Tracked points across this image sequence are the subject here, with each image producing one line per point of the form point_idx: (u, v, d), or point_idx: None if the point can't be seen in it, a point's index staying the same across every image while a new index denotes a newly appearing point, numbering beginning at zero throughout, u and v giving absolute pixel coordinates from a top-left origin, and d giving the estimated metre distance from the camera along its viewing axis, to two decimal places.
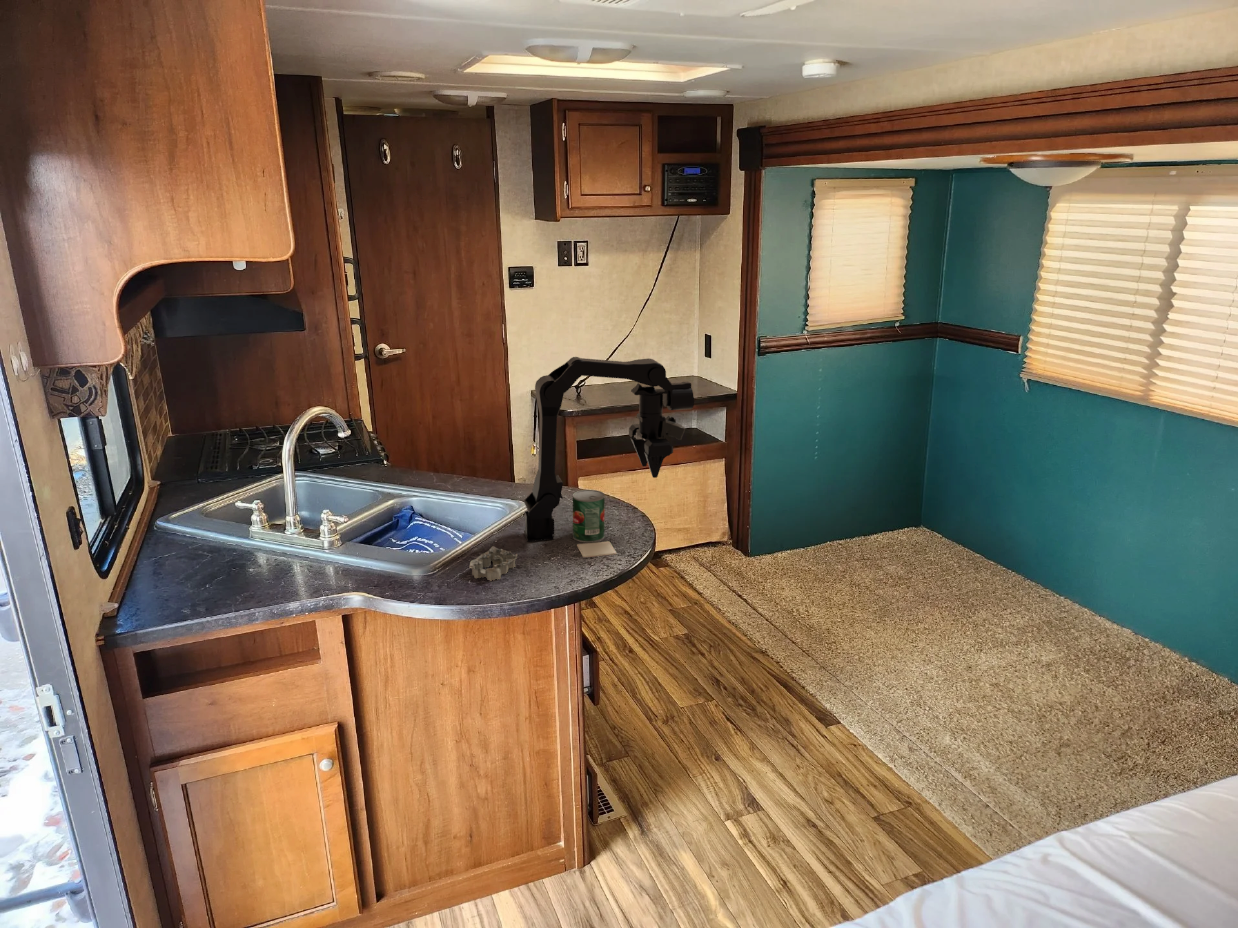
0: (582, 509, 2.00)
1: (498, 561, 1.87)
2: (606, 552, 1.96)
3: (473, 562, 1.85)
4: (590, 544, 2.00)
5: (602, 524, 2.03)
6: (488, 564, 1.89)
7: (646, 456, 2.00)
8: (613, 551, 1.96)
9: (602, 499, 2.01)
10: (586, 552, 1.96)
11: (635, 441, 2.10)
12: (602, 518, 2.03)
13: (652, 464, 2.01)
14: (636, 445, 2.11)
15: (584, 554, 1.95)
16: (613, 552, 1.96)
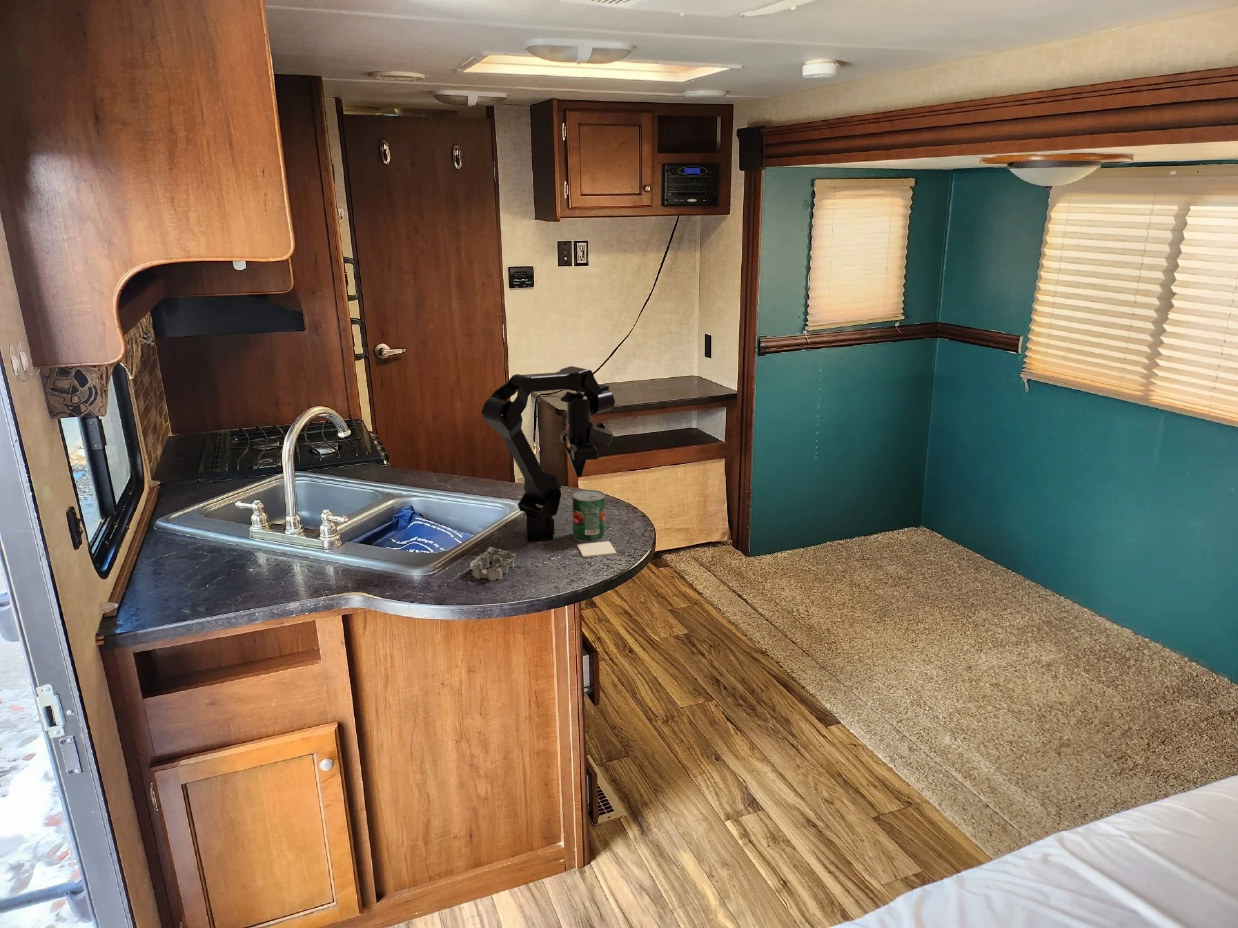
0: (582, 509, 2.00)
1: (498, 561, 1.87)
2: (606, 552, 1.96)
3: (473, 563, 1.84)
4: (590, 544, 2.00)
5: (602, 524, 2.03)
6: (487, 564, 1.89)
7: (569, 456, 2.08)
8: (613, 551, 1.96)
9: (602, 499, 2.01)
10: (586, 552, 1.96)
11: (569, 451, 2.10)
12: (602, 518, 2.03)
13: (575, 464, 2.09)
14: None
15: (584, 554, 1.95)
16: (613, 552, 1.96)
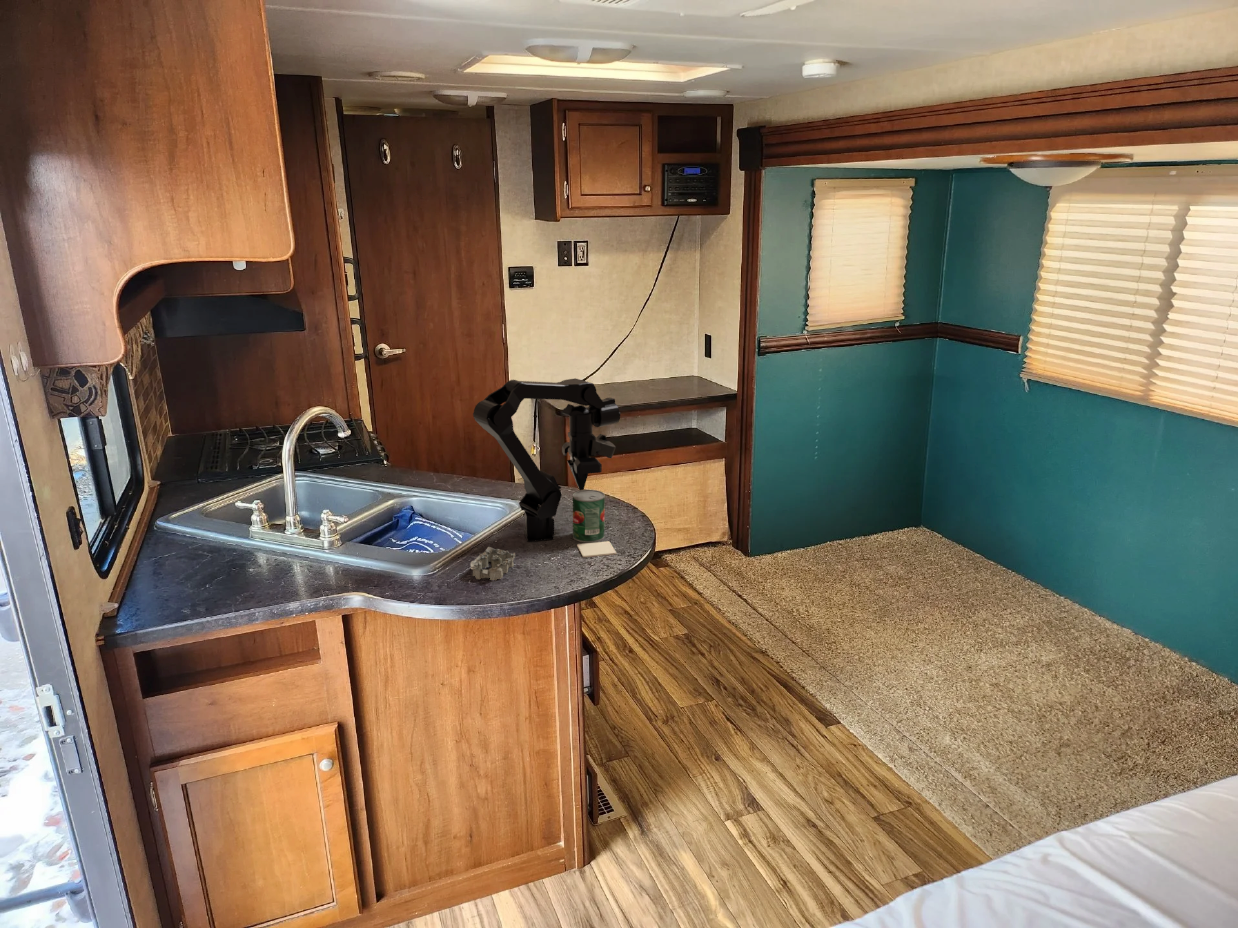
0: (582, 509, 2.00)
1: (497, 560, 1.87)
2: (606, 552, 1.96)
3: (473, 563, 1.84)
4: (590, 544, 2.00)
5: (602, 524, 2.03)
6: (486, 564, 1.89)
7: (572, 469, 2.07)
8: (613, 551, 1.96)
9: (602, 499, 2.01)
10: (586, 552, 1.96)
11: (571, 464, 2.09)
12: (602, 518, 2.03)
13: (578, 477, 2.08)
14: None
15: (584, 554, 1.95)
16: (613, 552, 1.96)
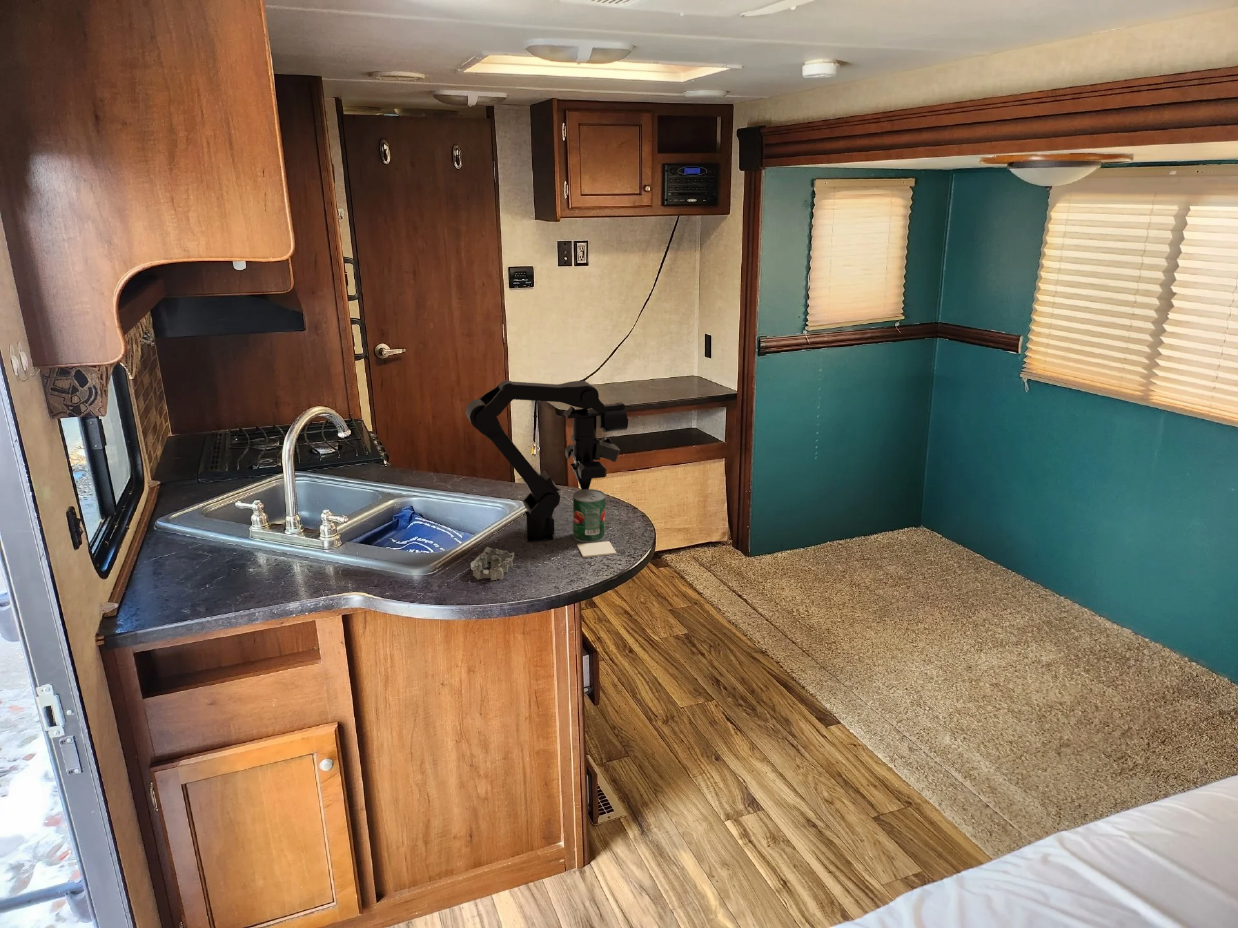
0: (583, 510, 2.00)
1: (497, 560, 1.87)
2: (606, 552, 1.96)
3: (473, 564, 1.84)
4: (590, 544, 2.00)
5: (602, 524, 2.03)
6: (485, 565, 1.89)
7: (575, 473, 2.03)
8: (613, 551, 1.96)
9: (603, 500, 2.01)
10: (586, 552, 1.96)
11: (575, 468, 2.05)
12: (602, 518, 2.02)
13: (582, 481, 2.04)
14: None
15: (584, 554, 1.95)
16: (613, 552, 1.96)
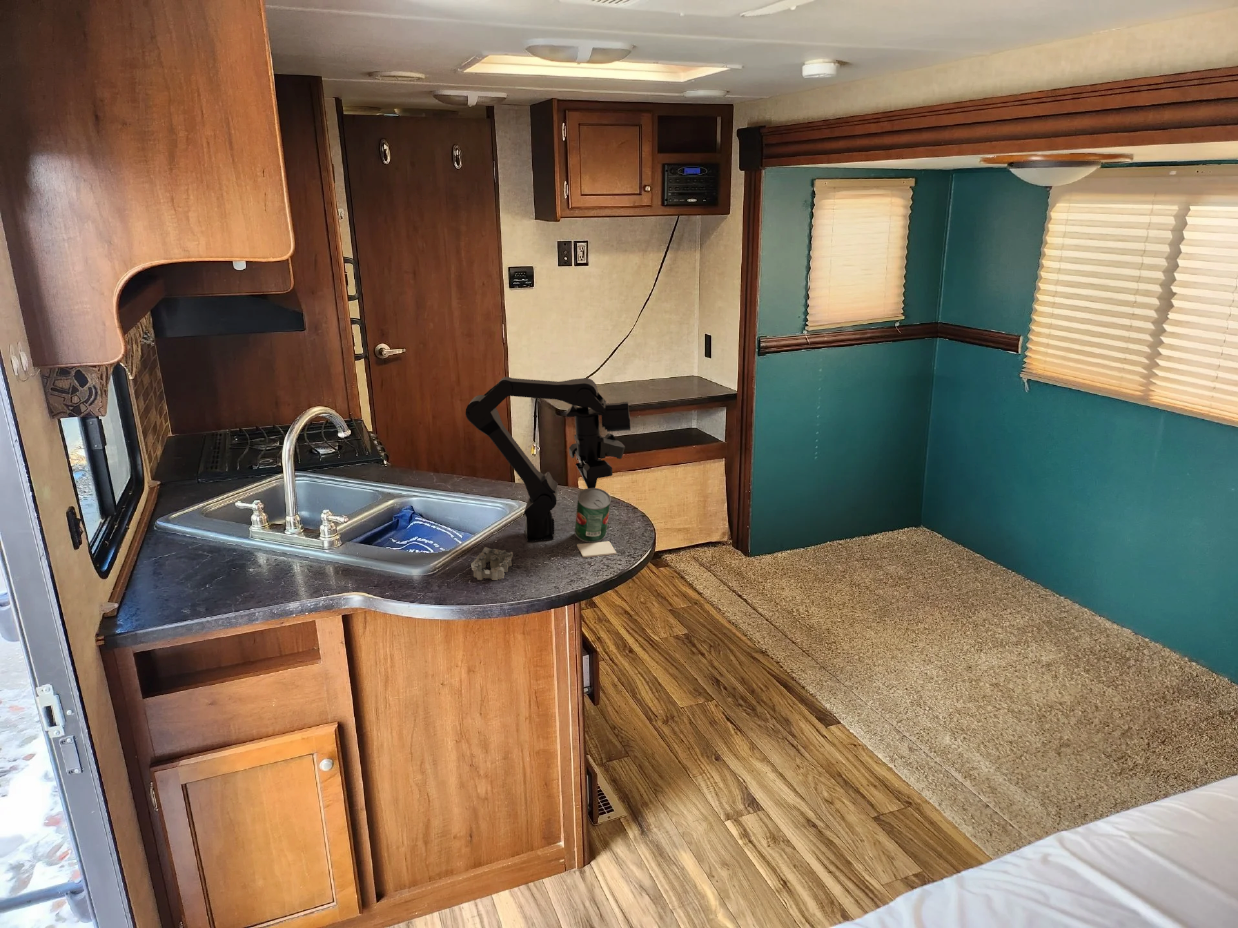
0: (585, 514, 1.98)
1: (496, 560, 1.87)
2: (606, 552, 1.96)
3: (473, 564, 1.84)
4: (590, 544, 2.00)
5: (604, 526, 2.02)
6: (484, 565, 1.88)
7: (581, 473, 1.99)
8: (613, 551, 1.96)
9: (607, 506, 1.98)
10: (586, 552, 1.96)
11: None
12: (605, 522, 2.01)
13: (588, 480, 2.00)
14: None
15: (584, 554, 1.95)
16: (613, 552, 1.96)
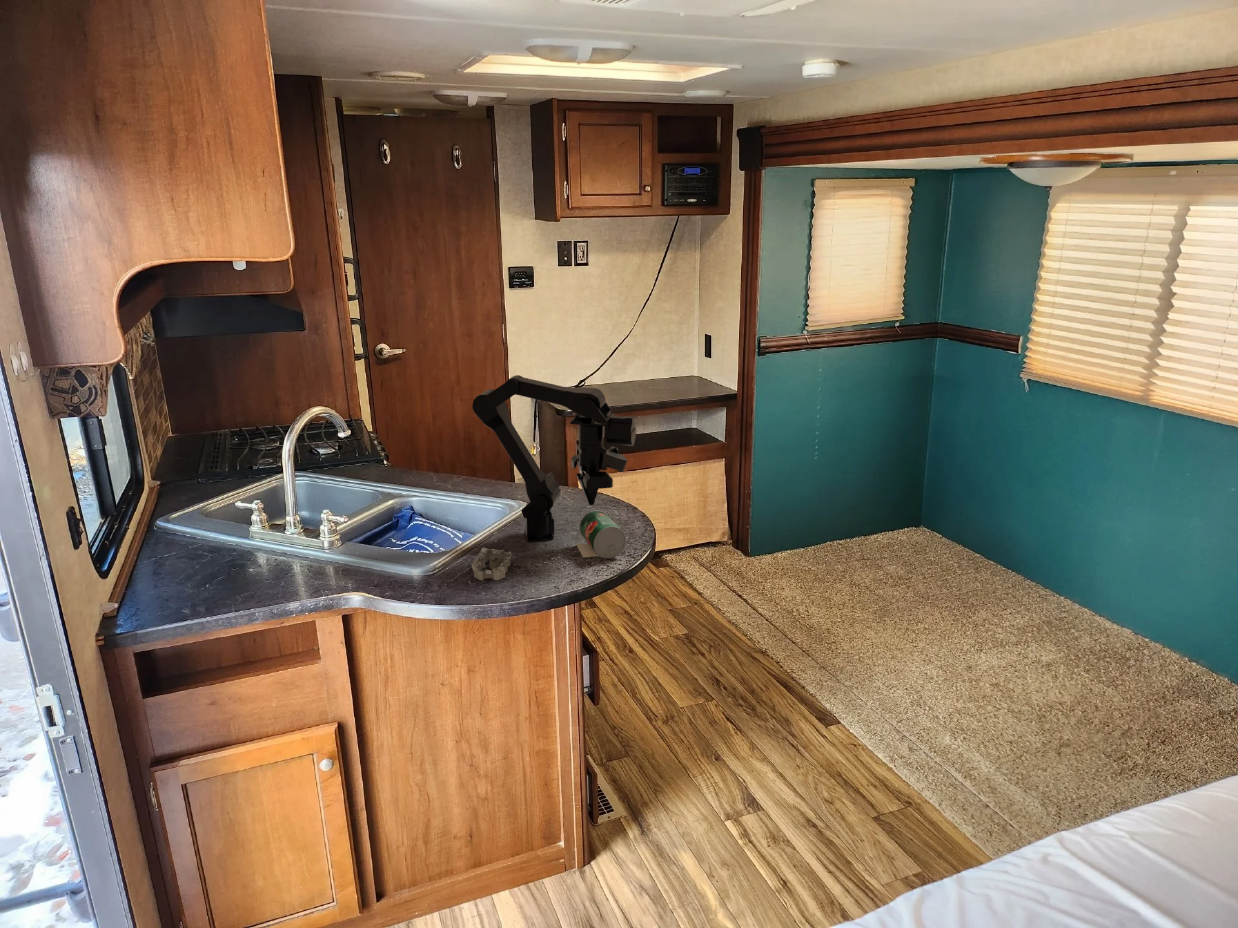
0: (595, 550, 1.94)
1: (496, 560, 1.87)
2: None
3: (474, 565, 1.83)
4: None
5: None
6: (483, 565, 1.88)
7: (581, 484, 1.96)
8: None
9: None
10: (586, 552, 1.96)
11: (581, 478, 1.98)
12: None
13: (588, 492, 1.98)
14: None
15: (584, 554, 1.95)
16: None
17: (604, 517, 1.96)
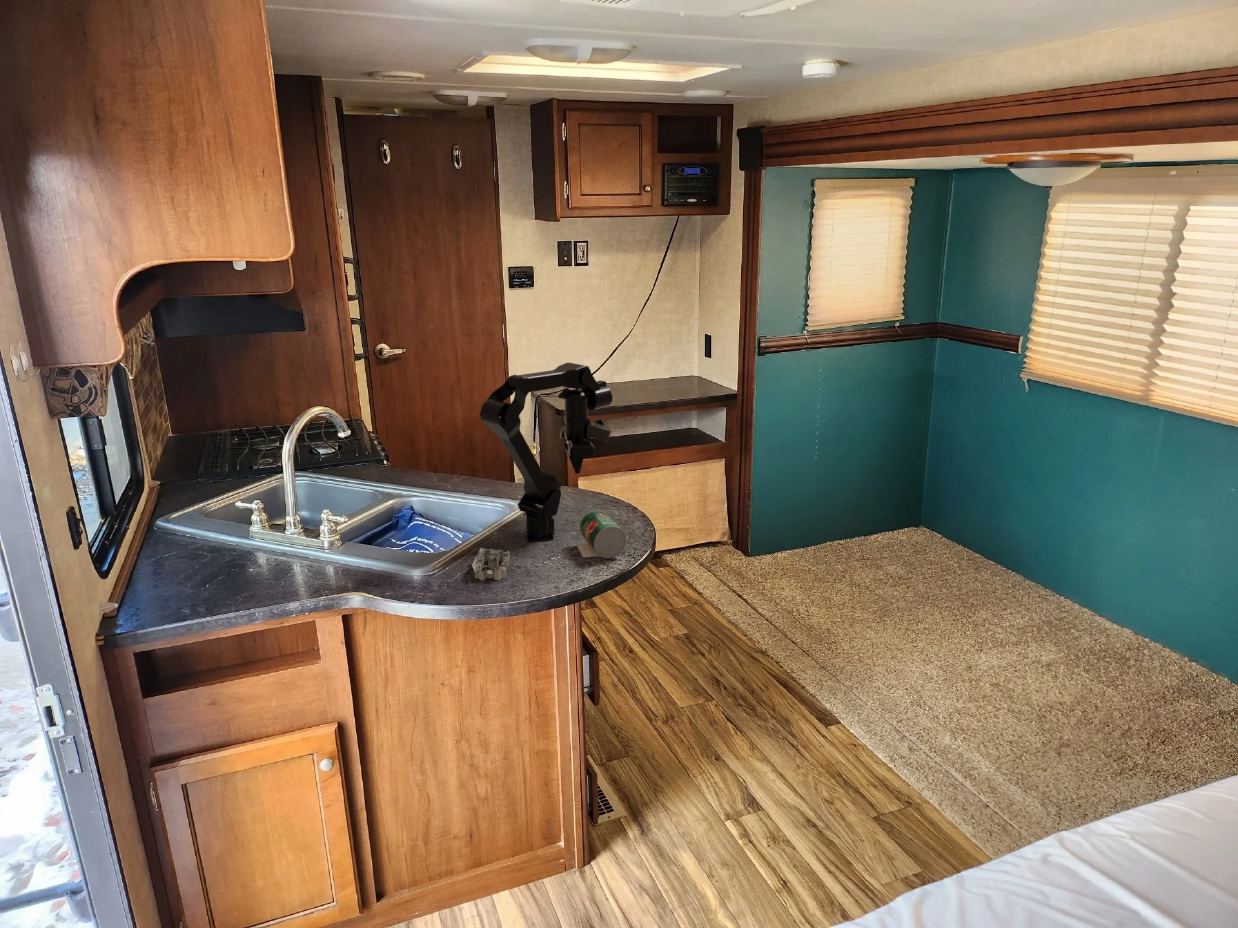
0: None
1: (495, 560, 1.87)
2: None
3: (474, 565, 1.83)
4: None
5: None
6: (483, 566, 1.88)
7: (567, 453, 2.07)
8: None
9: None
10: (586, 552, 1.96)
11: (567, 448, 2.10)
12: None
13: (573, 460, 2.09)
14: None
15: (584, 554, 1.95)
16: None
17: (604, 517, 1.96)
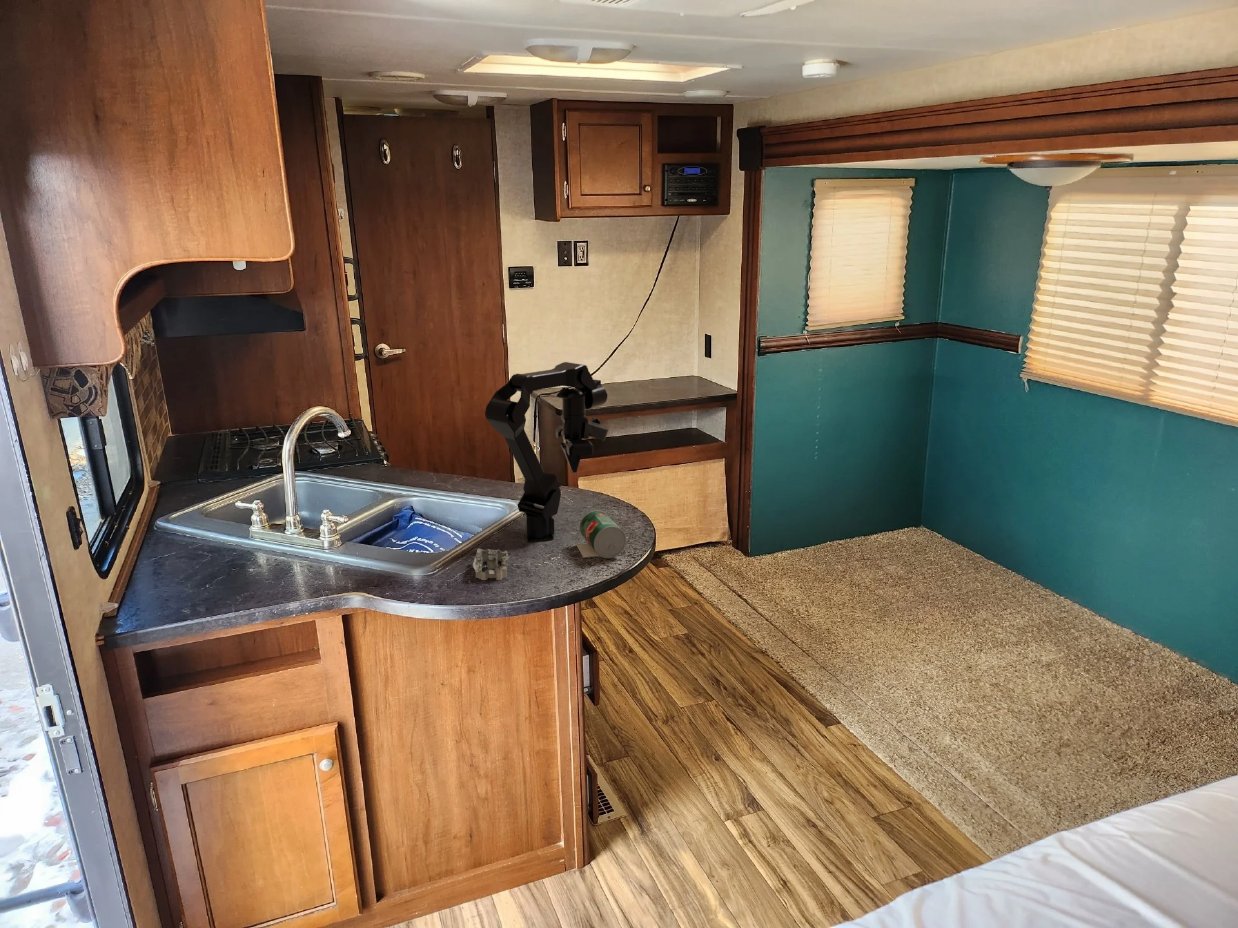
0: None
1: (495, 560, 1.87)
2: None
3: (475, 566, 1.83)
4: None
5: None
6: (482, 566, 1.88)
7: (564, 452, 2.09)
8: None
9: None
10: (586, 552, 1.96)
11: (564, 447, 2.11)
12: None
13: (571, 459, 2.10)
14: None
15: (584, 554, 1.95)
16: None
17: (604, 517, 1.96)
